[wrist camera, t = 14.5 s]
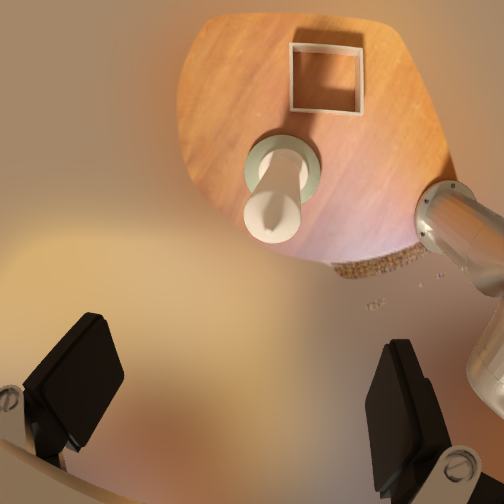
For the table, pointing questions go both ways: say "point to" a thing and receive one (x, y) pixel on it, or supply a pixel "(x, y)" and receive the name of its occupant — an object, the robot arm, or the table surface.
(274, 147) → the pale green dome
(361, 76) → the tray
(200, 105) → the table surface
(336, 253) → the table surface
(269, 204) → the candle
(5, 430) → the robot arm
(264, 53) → the table surface
